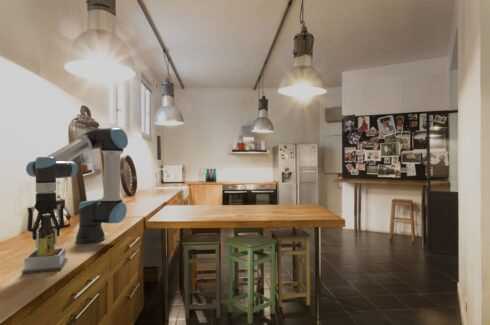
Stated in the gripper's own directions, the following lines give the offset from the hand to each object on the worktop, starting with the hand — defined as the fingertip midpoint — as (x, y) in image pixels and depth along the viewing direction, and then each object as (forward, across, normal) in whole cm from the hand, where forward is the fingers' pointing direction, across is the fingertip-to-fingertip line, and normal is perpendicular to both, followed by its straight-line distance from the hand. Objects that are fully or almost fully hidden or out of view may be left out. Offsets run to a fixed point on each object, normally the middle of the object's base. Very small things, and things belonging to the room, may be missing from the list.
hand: (46, 245), depth 138 cm
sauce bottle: (+7, 0, 0) cm, 7 cm away
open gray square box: (+9, 0, 0) cm, 9 cm away
